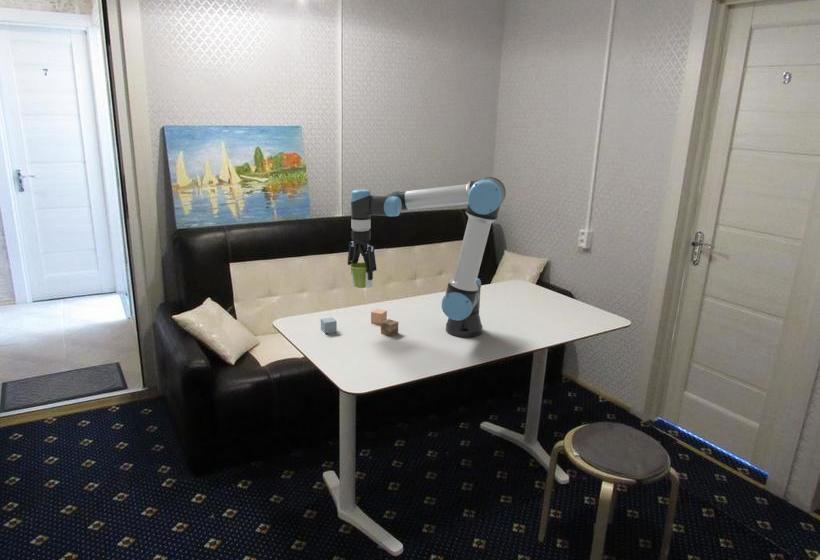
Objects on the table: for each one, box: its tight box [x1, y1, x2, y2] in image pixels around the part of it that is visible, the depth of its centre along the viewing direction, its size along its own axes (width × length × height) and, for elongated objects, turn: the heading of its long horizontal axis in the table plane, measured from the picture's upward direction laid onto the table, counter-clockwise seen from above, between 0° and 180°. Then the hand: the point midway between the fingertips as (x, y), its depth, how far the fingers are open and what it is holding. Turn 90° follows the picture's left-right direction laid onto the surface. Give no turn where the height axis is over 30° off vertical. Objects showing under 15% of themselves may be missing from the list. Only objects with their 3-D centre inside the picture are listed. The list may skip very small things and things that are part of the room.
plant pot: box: [349, 261, 370, 289], centre depth 234 cm, size 9×9×9 cm
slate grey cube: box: [320, 317, 338, 335], centre depth 237 cm, size 5×5×5 cm
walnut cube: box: [380, 318, 399, 337], centre depth 236 cm, size 5×5×5 cm
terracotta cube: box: [370, 308, 388, 326], centre depth 249 cm, size 5×5×5 cm
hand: (362, 285), depth 235 cm, fingers closed on plant pot, 8 cm apart
